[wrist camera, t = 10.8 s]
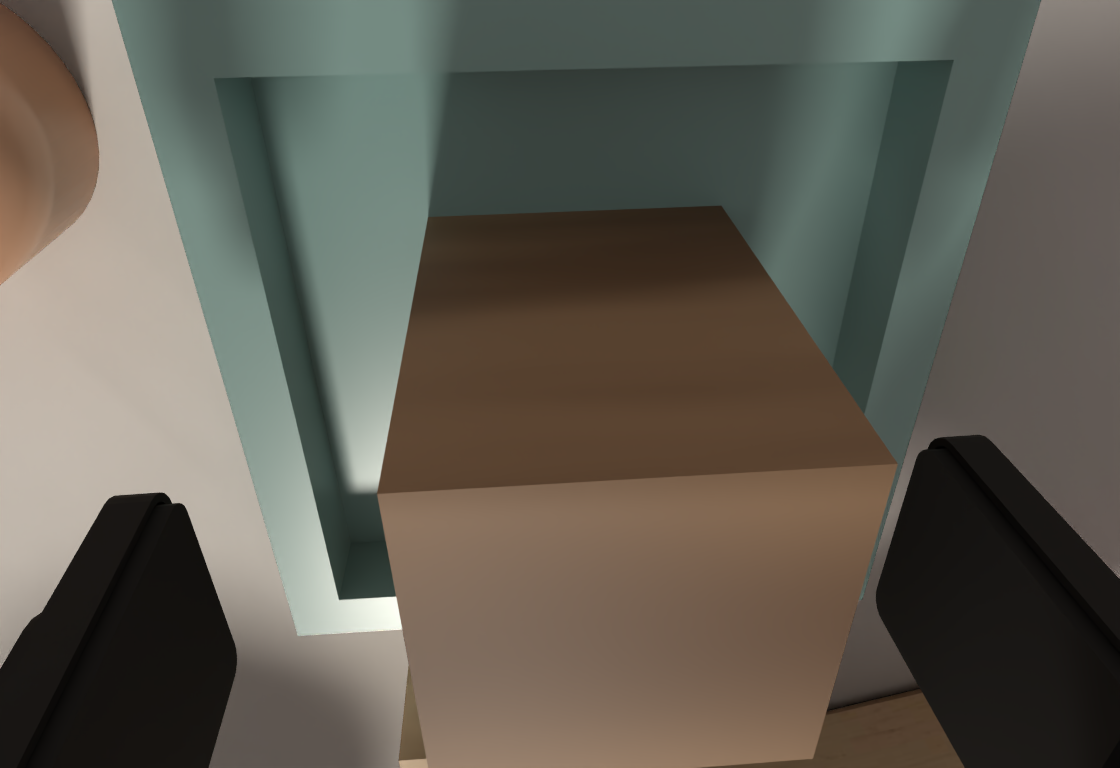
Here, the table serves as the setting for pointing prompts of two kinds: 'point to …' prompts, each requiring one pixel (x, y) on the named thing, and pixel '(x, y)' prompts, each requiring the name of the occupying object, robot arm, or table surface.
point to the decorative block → (878, 737)
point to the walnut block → (620, 496)
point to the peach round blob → (39, 145)
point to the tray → (546, 194)
